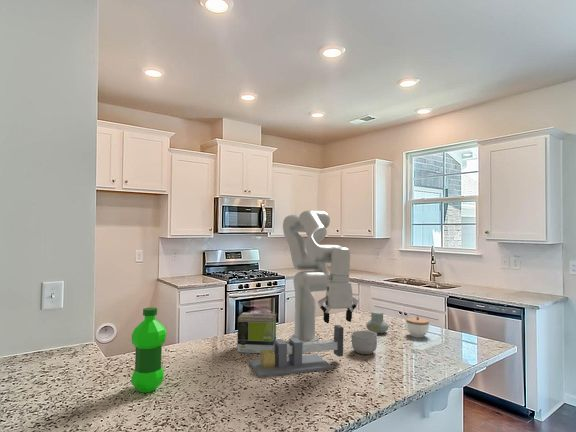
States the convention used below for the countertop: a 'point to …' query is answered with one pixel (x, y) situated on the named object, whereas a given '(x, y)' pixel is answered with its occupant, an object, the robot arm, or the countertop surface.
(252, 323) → the tea box
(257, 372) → the bracket
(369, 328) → the air freshener
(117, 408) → the countertop surface
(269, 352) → the block
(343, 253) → the robot arm
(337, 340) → the shaft
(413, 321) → the lidded jar
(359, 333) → the teacup
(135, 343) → the plastic bottle
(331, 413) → the countertop surface
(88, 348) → the countertop surface
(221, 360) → the countertop surface
